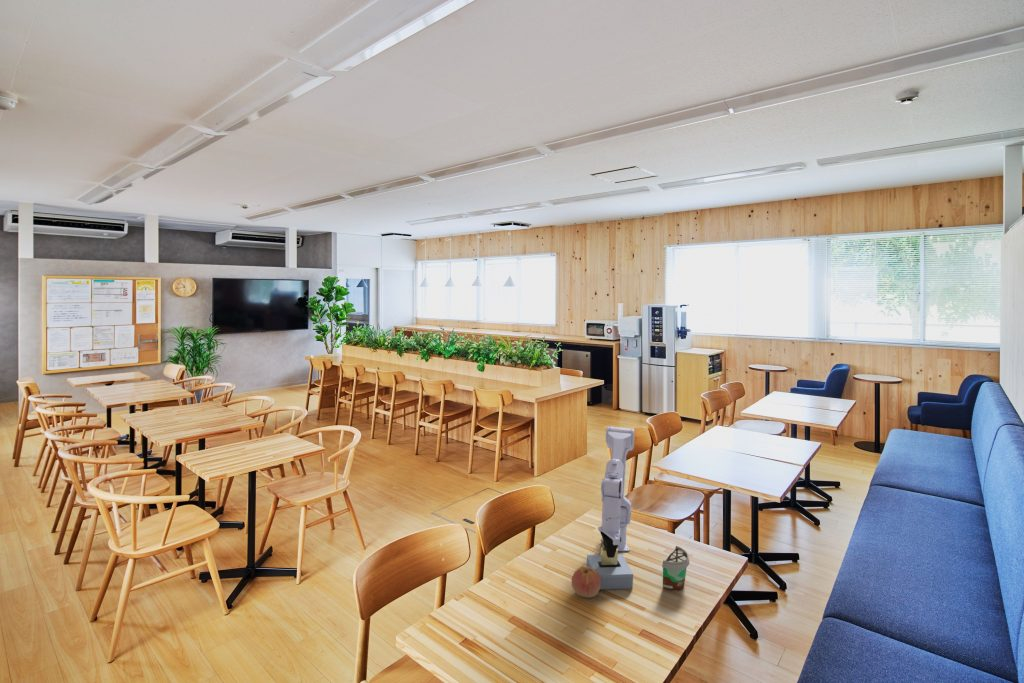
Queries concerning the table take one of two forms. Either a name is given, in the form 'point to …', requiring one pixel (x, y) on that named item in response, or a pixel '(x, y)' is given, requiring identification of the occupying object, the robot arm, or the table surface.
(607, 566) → the coin box
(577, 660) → the table surface
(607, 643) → the table surface
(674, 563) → the food container
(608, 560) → the block
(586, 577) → the apple
